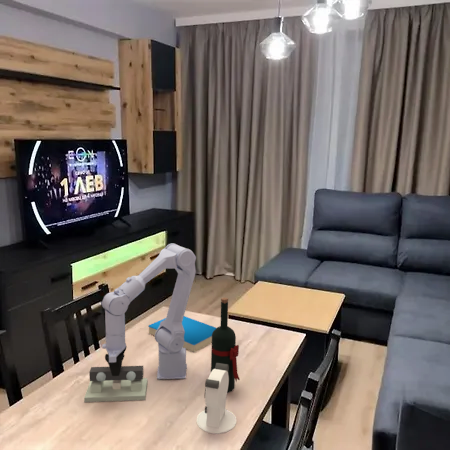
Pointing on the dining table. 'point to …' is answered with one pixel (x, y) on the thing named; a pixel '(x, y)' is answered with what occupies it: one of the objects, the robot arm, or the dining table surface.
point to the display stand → (116, 390)
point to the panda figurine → (216, 403)
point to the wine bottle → (225, 346)
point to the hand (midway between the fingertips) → (116, 372)
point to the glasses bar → (125, 374)
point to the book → (191, 333)
